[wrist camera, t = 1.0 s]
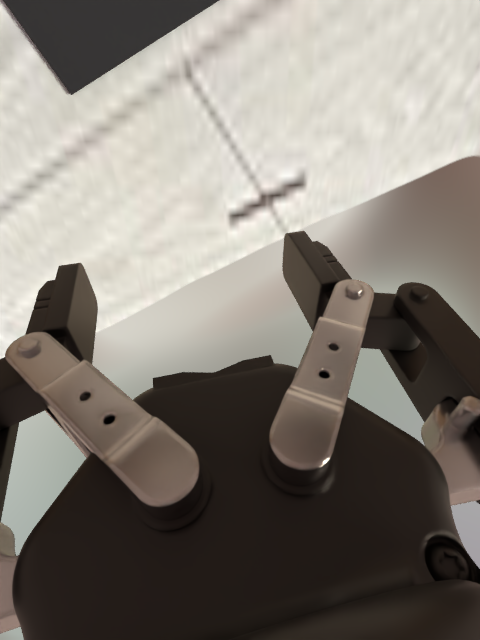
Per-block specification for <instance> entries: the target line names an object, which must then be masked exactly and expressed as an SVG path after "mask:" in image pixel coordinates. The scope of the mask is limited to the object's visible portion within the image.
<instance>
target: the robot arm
mask: <svg viewBox="0 0 480 640" xmlns="http://www.w3.org/2000/svg"><path fill="white" fill-rule="evenodd" d="M283 275H284V278H285V281H286V282H287V284H288V286H289V288H290V290H291V291H292V294H293V295H294V297H295V299H296V301H297V303H298V305H299V306H300V308H301V310H302V312H303V314H304V316H305V318H306V319H307V321H308V323H309V325H310V327H311V329H312V331H313V333H312V336H311V338H310V340H309V343H308V345H307V348H306V350H305V353H304V355H303V357H302V360H301V362H300V365H299V367H298V368H296V367H292V366H289V365H284V364H274V363H273V360H272V357H271V355H269V356H264V357H259V358H253V359H249V360H243V361H241V362H238V363H236V364H234V365H231V366H229V367H227V368H224V369H222V370H220V371H217V372H214V373H195V372H192V373H191V372H189V373H188V372H182V373H177V374H172V375H167V376H162V377H157V378H153V388H151V389H149V390H147V391H145V392H143V393H142V394H140V395H139V396H137V397H136V398H135V399H134V400H132V399H131V398H130V397H129V396H127V395H126V394H125V393H124V392H123V391H122V390H120V389H119V388H118V387H117V386H116V385H115V384H114V383H112V382H111V381H110V380H109V379H108V378H107V377H105V376H104V375H103V374H102V373H101V372H100V371H99V370H97V369H96V368H95V367H94V366H93V365H92V359H93V349H94V340H95V331H96V321H97V311H98V306H97V300H96V296H95V294H94V291H93V289H92V286H91V284H90V281H89V279H88V276H87V274H86V272H85V269H84V267H83V265H82V264H81V263H76V264H69V265H62V266H59V268H58V271H57V275H56V279H55V280H52V281H47V282H46V283H45V284H44V286H43V287H42V288H41V289H40V290H39V292H38V295H37V299H36V302H35V305H34V310H33V312H32V315H31V318H30V322H29V325H28V328H27V331H26V335H24V336H22V337H20V338H18V339H17V340H15V341H14V342H13V343H12V344H11V345H10V346H9V347H8V349H7V351H6V354H5V357H4V358H2V359H0V633H3V632H6V631H9V630H12V629H15V628H18V627H21V629H22V633H23V637H24V640H480V569H479V568H478V566H476V564H475V563H474V561H473V560H472V559H471V558H470V556H469V554H468V553H467V551H466V550H465V548H464V546H463V544H462V542H461V539H460V537H459V534H458V532H457V529H456V526H455V523H454V519H453V516H452V510H451V506H452V505H457V504H461V503H467V502H471V501H477V502H478V503H479V504H480V338H479V337H478V336H477V335H476V334H475V333H474V332H473V331H472V330H471V328H470V327H469V326H468V325H467V324H466V323H465V322H464V321H463V320H462V319H461V318H460V317H459V315H458V314H457V313H456V312H455V311H454V310H453V309H452V308H451V307H450V306H449V304H448V303H446V301H445V300H444V299H443V298H442V297H441V296H440V295H439V294H438V293H437V292H436V291H435V290H434V289H433V288H431V287H429V286H427V285H424V284H421V283H413V282H411V283H405V284H402V285H401V286H400V287H399V288H398V290H397V293H396V294H385V293H375V292H374V291H373V289H372V287H370V285H368V284H367V283H365V282H362V281H359V280H353V279H352V278H351V277H350V276H349V275H348V273H347V272H346V271H345V269H344V268H343V267H342V265H341V264H340V263H339V262H337V259H336V258H335V257H334V256H333V254H332V253H331V251H330V250H329V249H328V247H326V246H325V245H323V244H321V243H320V242H318V241H315V242H312V241H311V239H310V238H309V237H308V235H307V234H306V232H305V231H300V232H293V233H287V234H285V237H284V251H283ZM420 341H421V342H420ZM423 345H424V346H423ZM360 348H371V349H380V350H381V352H382V354H383V355H384V357H385V359H386V360H387V362H388V363H389V365H390V367H391V368H392V370H393V371H394V373H395V375H396V377H397V378H398V380H399V381H400V383H401V385H402V386H403V387H404V389H405V391H406V393H407V395H408V396H409V398H410V399H411V401H412V403H413V404H414V406H415V408H416V409H417V411H418V412H419V414H420V416H421V417H422V419H423V421H424V422H425V423H424V425H423V427H422V430H421V435H422V439H423V442H424V444H425V446H424V445H423V444H421V443H420V442H419V441H418V440H416V439H415V438H414V437H412V436H411V435H409V434H407V433H406V432H404V431H402V430H401V429H399V428H397V427H396V426H394V425H393V424H391V423H389V422H388V421H386V420H384V419H383V418H381V417H379V416H378V415H376V414H374V413H373V412H371V411H369V410H368V409H366V408H364V407H363V406H361V405H360V404H358V403H356V402H355V401H353V400H351V399H350V398H348V393H349V389H350V385H351V382H352V378H353V374H354V370H355V367H356V363H357V359H358V356H359V352H360ZM44 410H45V411H46V412H47V413H48V414H49V415H50V417H51V418H52V419H53V420H54V421H55V422H56V423H57V424H58V426H59V427H60V428H61V429H62V430H63V431H64V432H65V433H66V434H67V435H68V436H69V438H70V439H71V440H72V441H73V442H74V443H75V444H76V446H77V447H78V448H79V449H80V450H81V452H82V453H83V454H84V455H85V457H86V460H85V461H84V462H83V464H82V465H81V466H80V468H79V469H78V470H77V472H76V473H75V474H74V476H73V477H72V478H71V480H70V481H69V482H68V484H67V485H66V486H65V488H64V489H63V490H62V492H61V493H60V494H59V496H58V497H57V498H56V500H55V501H54V502H53V503H52V505H51V506H50V507H49V509H48V510H47V511H46V513H45V514H44V515H43V517H42V518H41V520H40V521H39V522H38V523H37V525H36V526H35V527H34V529H33V530H32V532H31V533H30V535H29V536H28V538H27V540H26V542H25V543H24V545H23V547H22V549H21V552H20V555H18V556H16V554H15V538H14V534H13V532H12V531H11V529H10V528H9V527H7V526H6V525H4V524H2V523H1V517H2V511H3V506H4V500H5V495H6V490H7V485H8V479H9V474H10V469H11V463H12V458H13V453H14V447H15V441H16V436H17V431H18V426H19V422H21V421H23V420H25V419H27V418H29V417H31V416H34V415H36V414H38V413H40V412H42V411H44Z"/></svg>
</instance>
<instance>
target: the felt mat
mask: <svg viewBox="0 0 480 640" xmlns="http://www.w3.org/2000/svg"><path fill="white" fill-rule="evenodd" d="M3 1H4V2H5V3H6V5H7V6H8V8H9V9H10V10H11V12H12V13H13V15H14V16H15V17H16V19H17V20H18V21H19V23H20V24H21V26H22V27H23V28H24V30H25V31H26V33H27V34H28V35H29V37H30V38H31V40H32V41H33V42H34V44H35V45H36V47H37V48H38V49H39V51H40V52H41V53H42V55H43V56H44V58H45V59H46V60H47V62H48V63H49V65H50V66H51V67H52V69H53V70H54V72H55V73H56V74H57V76H58V77H59V79H60V80H61V81H62V83H63V84H64V85H65V87H66V88H67V90H68V91H69V92H70V94H71V95H72V94H74V93H75V92H77V91H79V90H80V89H82V88H83V87H85V86H86V85H88V84H89V83H91V82H93V81H94V80H96V79H97V78H99V77H100V76H102V75H103V74H105V73H107V72H108V71H110V70H111V69H113V68H114V67H116V66H117V65H119V64H121V63H122V62H124V61H125V60H127V59H128V58H130V57H132V56H133V55H135V54H136V53H138V52H139V51H141V50H142V49H144V48H146V47H147V46H149V45H150V44H152V43H153V42H155V41H156V40H158V39H160V38H161V37H163V36H164V35H166V34H167V33H169V32H170V31H172V30H174V29H175V28H177V27H178V26H180V25H181V24H183V23H185V22H186V21H188V20H189V19H191V18H192V17H194V16H195V15H197V14H199V13H200V12H202V11H203V10H205V9H206V8H208V7H209V6H211V5H213V4H214V3H216V2H217V1H219V0H3Z"/></svg>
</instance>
